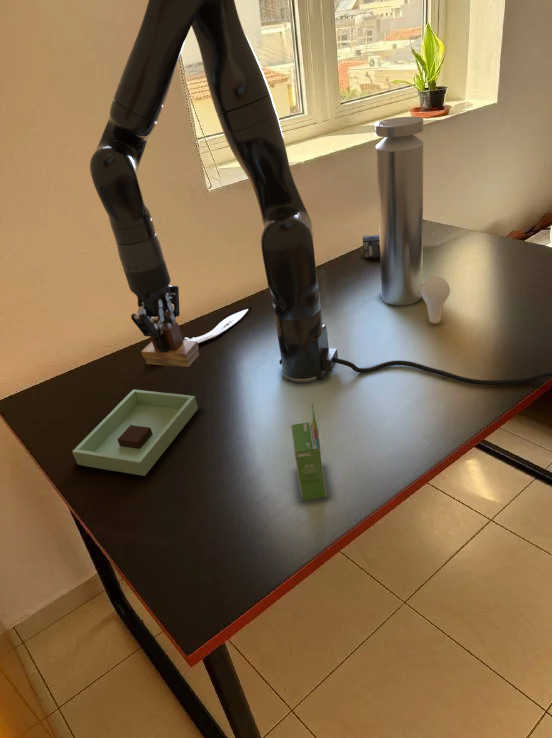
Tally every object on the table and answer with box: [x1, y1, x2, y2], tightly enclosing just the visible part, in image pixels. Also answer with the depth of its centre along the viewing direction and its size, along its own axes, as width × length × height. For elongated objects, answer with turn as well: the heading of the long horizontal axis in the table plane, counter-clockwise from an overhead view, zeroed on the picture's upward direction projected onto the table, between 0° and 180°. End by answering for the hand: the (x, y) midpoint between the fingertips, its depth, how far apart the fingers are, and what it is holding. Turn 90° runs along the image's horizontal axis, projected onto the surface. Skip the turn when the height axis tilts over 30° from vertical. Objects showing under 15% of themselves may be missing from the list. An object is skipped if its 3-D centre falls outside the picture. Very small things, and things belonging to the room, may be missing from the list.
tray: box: [71, 389, 199, 477], centre depth 106 cm, size 14×20×4 cm
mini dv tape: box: [362, 234, 380, 259], centre depth 165 cm, size 8×2×6 cm, turn 80°
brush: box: [140, 322, 200, 368], centre depth 112 cm, size 10×5×8 cm, turn 71°
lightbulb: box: [421, 276, 451, 325], centre depth 126 cm, size 6×6×11 cm
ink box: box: [290, 402, 327, 501], centre depth 87 cm, size 7×4×13 cm, turn 5°
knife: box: [183, 308, 249, 344], centre depth 138 cm, size 30×2×8 cm
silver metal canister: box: [374, 116, 425, 307], centre depth 131 cm, size 10×10×40 cm
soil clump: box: [117, 425, 152, 449], centre depth 105 cm, size 4×4×2 cm
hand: (169, 345), depth 112 cm, fingers closed on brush, 3 cm apart
